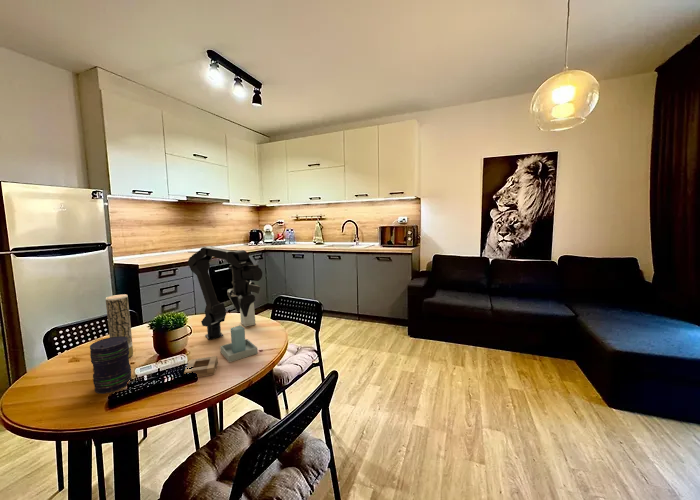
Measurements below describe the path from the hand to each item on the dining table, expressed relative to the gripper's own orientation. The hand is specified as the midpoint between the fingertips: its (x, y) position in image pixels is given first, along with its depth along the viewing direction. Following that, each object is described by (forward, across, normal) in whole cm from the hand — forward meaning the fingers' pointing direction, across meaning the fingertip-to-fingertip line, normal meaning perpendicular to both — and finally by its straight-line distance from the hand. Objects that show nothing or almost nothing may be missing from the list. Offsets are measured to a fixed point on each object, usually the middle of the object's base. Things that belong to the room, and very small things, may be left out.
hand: (241, 314), depth 128 cm
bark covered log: (+13, +18, +42) cm, 48 cm away
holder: (+13, -14, +20) cm, 28 cm away
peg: (+12, -9, +5) cm, 16 cm away
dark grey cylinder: (+13, -5, +45) cm, 47 cm away
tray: (+13, -9, +5) cm, 17 cm away
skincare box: (+13, +22, -10) cm, 28 cm away
